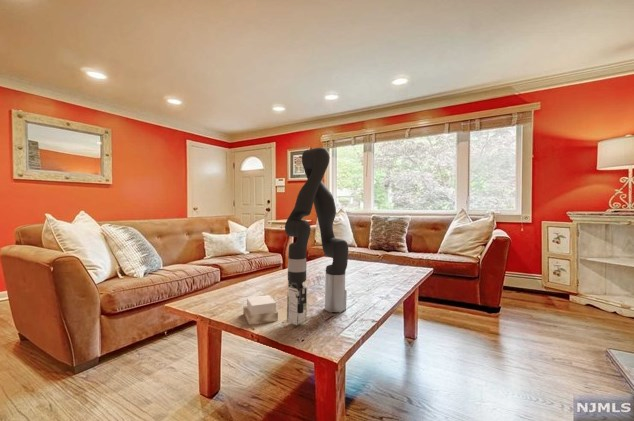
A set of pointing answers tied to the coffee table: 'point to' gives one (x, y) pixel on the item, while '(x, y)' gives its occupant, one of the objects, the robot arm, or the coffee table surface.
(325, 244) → the robot arm
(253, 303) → the off-white top block
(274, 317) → the ash base block
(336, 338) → the coffee table surface
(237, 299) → the coffee table surface
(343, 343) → the coffee table surface
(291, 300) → the syrup box
